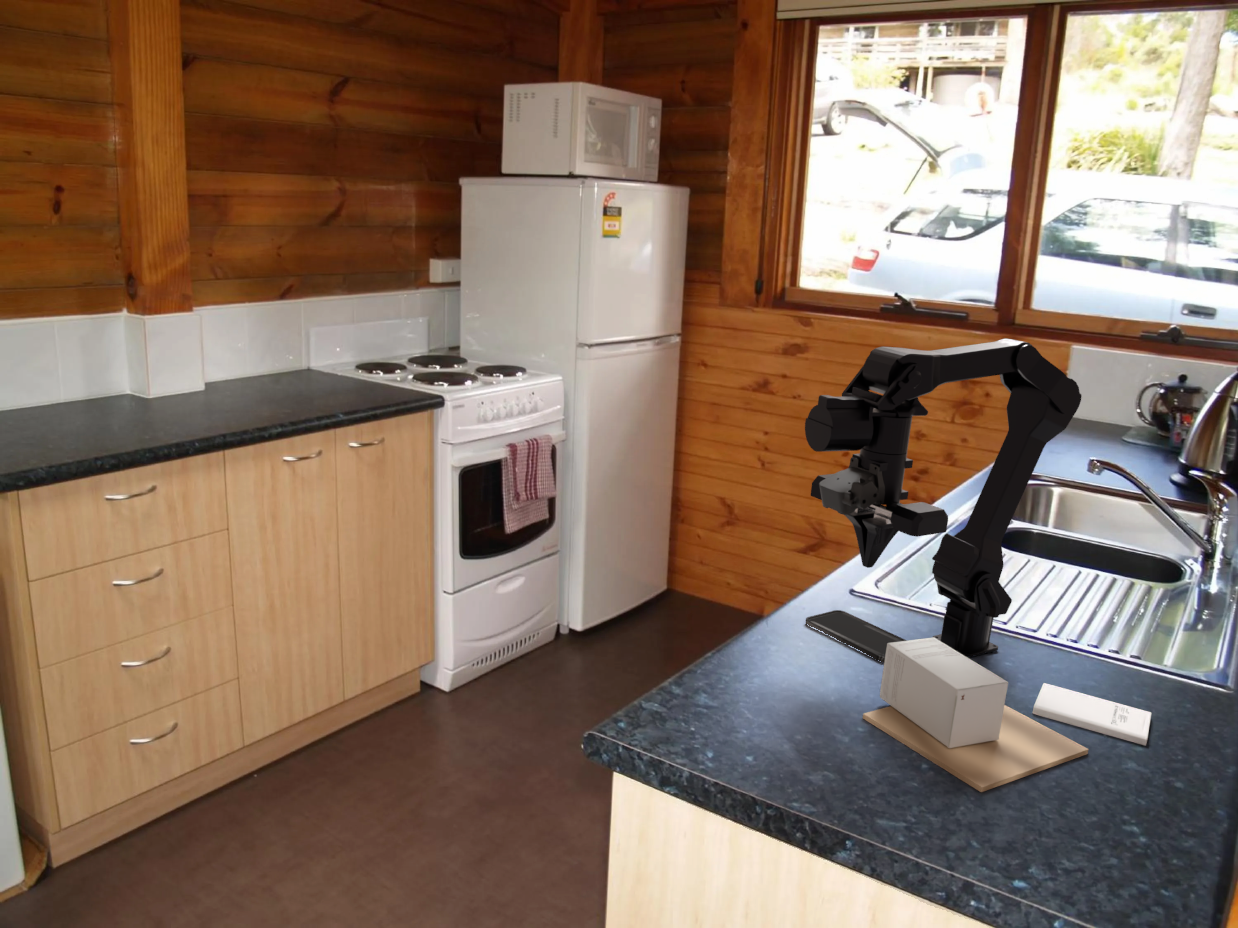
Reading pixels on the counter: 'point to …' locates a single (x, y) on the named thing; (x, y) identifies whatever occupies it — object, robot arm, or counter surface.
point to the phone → (854, 632)
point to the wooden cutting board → (985, 748)
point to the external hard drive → (1093, 713)
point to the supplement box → (943, 692)
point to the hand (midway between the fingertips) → (867, 566)
